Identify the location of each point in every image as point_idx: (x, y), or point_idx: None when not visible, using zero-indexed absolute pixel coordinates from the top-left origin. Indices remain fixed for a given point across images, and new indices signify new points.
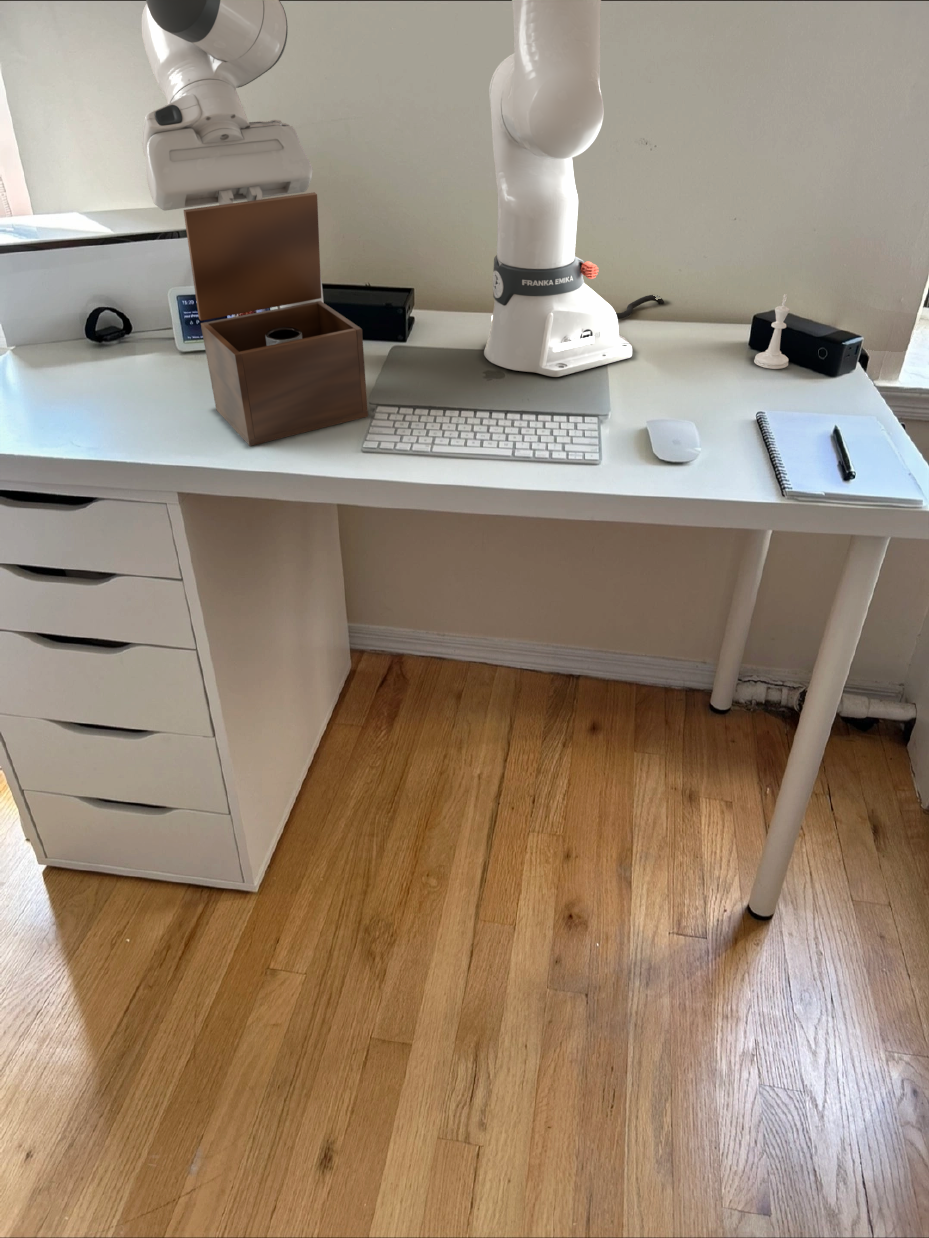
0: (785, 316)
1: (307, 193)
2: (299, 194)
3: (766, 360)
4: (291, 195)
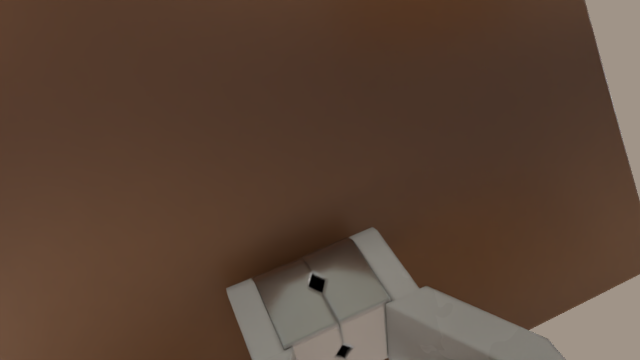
0: None
1: (622, 281)
2: (589, 299)
3: None
4: (550, 318)
